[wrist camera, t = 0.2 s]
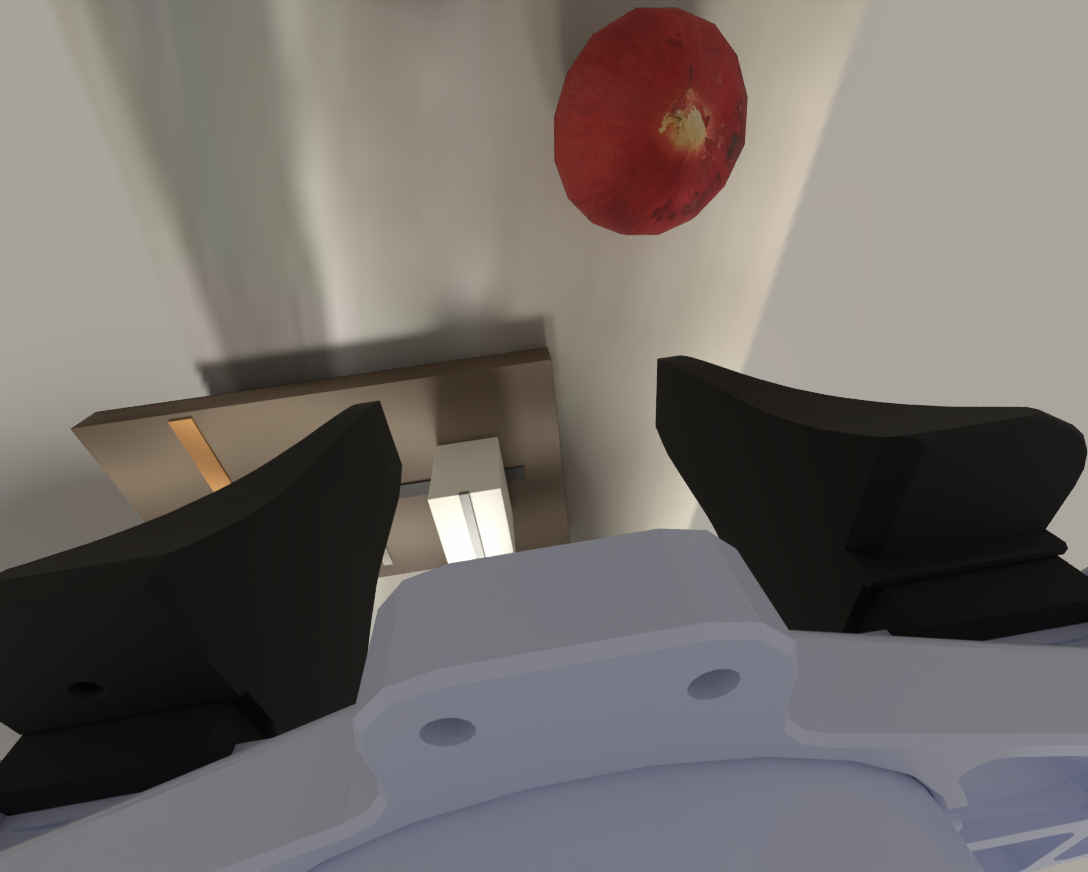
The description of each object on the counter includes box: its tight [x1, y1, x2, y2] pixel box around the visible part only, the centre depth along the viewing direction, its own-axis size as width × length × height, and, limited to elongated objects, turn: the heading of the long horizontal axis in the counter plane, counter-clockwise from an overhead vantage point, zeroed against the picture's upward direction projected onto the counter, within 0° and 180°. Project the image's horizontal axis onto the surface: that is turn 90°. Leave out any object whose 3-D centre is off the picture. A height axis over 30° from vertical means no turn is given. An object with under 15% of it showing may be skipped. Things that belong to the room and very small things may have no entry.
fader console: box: [71, 348, 570, 578], centre depth 23 cm, size 12×21×2 cm, turn 96°
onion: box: [554, 8, 748, 235], centre depth 14 cm, size 6×6×8 cm
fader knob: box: [428, 437, 516, 564], centre depth 21 cm, size 5×3×4 cm, turn 6°
